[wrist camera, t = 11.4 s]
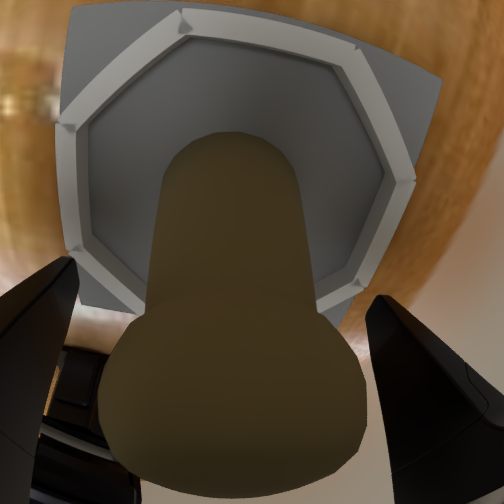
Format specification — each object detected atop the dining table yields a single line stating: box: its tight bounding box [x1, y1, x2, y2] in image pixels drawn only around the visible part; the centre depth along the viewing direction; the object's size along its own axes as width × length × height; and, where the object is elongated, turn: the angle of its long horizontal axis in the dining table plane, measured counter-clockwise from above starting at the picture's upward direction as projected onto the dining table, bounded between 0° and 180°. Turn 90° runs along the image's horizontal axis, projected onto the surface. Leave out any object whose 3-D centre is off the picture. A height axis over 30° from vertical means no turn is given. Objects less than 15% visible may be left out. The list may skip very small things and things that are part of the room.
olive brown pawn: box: [98, 131, 367, 499], centre depth 8 cm, size 6×6×11 cm
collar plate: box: [55, 1, 443, 329], centre depth 13 cm, size 16×16×2 cm
